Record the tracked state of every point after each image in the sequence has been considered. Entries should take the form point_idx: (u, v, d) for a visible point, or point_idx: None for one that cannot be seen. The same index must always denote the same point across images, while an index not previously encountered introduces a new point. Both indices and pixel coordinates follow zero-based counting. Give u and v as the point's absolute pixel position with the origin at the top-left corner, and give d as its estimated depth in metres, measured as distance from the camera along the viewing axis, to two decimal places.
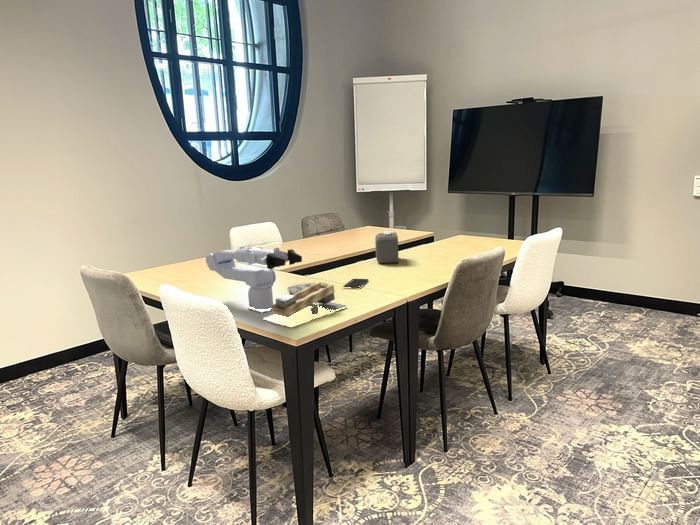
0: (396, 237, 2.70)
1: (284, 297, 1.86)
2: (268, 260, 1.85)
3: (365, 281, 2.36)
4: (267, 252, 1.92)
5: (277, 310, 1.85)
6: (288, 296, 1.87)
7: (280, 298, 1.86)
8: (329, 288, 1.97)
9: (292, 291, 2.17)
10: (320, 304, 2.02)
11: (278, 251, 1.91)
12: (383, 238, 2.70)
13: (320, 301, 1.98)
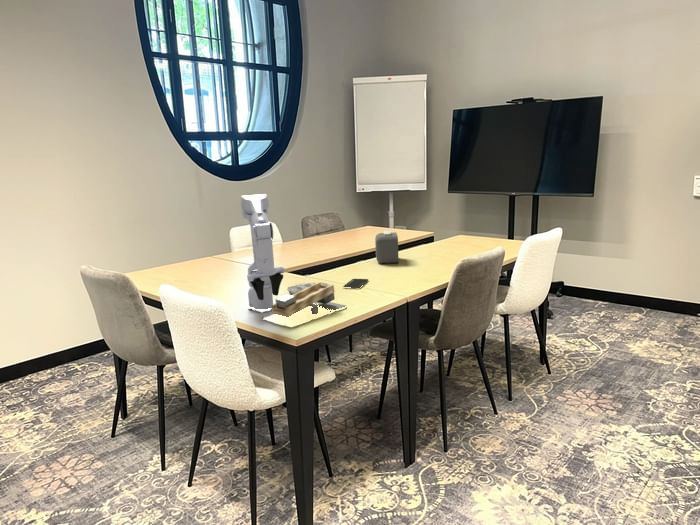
0: (396, 237, 2.70)
1: (284, 297, 1.86)
2: None
3: (365, 281, 2.36)
4: (265, 264, 1.75)
5: (277, 310, 1.85)
6: (288, 296, 1.87)
7: (280, 298, 1.86)
8: (329, 288, 1.97)
9: (292, 291, 2.17)
10: (320, 304, 2.02)
11: None
12: (383, 238, 2.70)
13: (320, 301, 1.98)
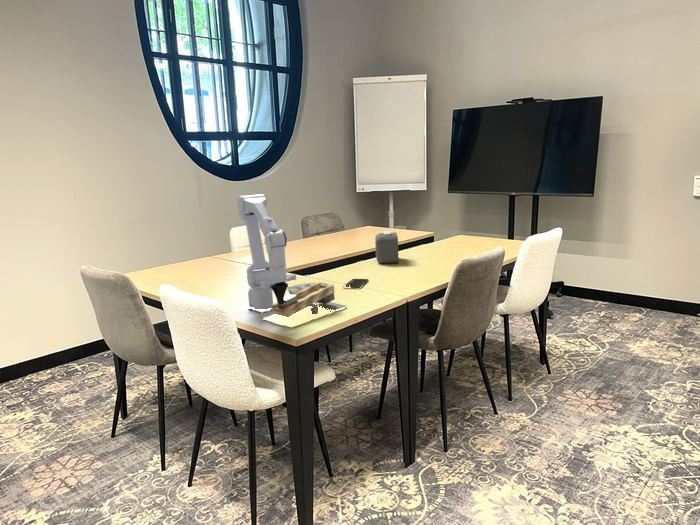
0: (396, 237, 2.70)
1: (286, 297, 1.86)
2: (275, 287, 1.82)
3: (365, 281, 2.36)
4: (278, 271, 1.79)
5: (277, 310, 1.85)
6: (290, 295, 1.87)
7: None
8: (329, 288, 1.97)
9: (292, 291, 2.17)
10: (320, 304, 2.02)
11: None
12: (383, 238, 2.70)
13: (320, 301, 1.98)
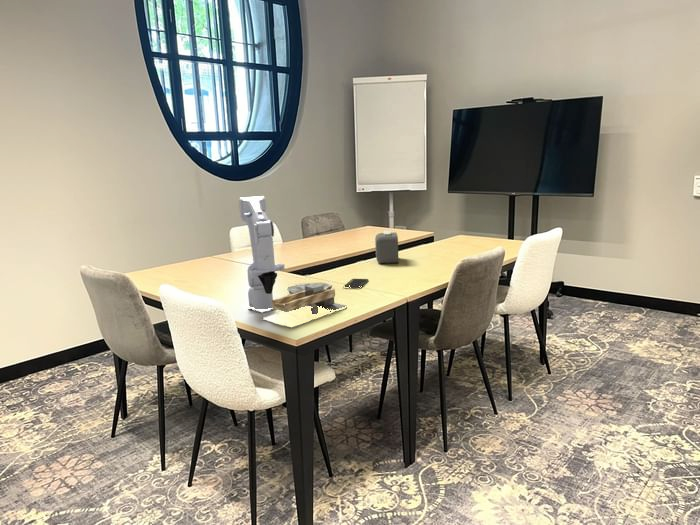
0: (396, 237, 2.70)
1: (313, 285, 1.96)
2: (263, 276, 1.82)
3: (365, 281, 2.36)
4: (266, 261, 1.80)
5: (277, 305, 1.85)
6: (317, 285, 1.97)
7: (309, 285, 1.96)
8: (330, 291, 1.97)
9: (292, 291, 2.17)
10: None
11: None
12: (383, 238, 2.70)
13: (320, 304, 1.98)
